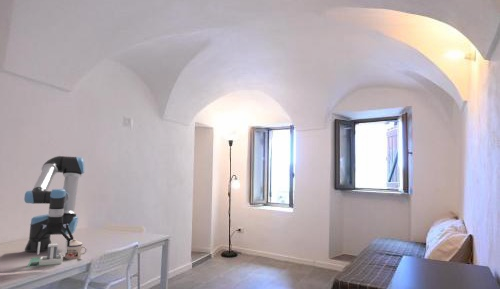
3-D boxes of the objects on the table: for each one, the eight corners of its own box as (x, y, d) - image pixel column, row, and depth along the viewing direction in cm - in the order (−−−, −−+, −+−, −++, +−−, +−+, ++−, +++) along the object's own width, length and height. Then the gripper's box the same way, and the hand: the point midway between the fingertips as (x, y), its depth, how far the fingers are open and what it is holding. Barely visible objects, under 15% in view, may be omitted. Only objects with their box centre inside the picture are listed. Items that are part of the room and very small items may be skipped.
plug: (47, 261, 182) (48, 243, 183) (56, 260, 184) (57, 243, 185) (46, 263, 178) (48, 245, 179) (55, 263, 180) (57, 245, 181)
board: (31, 260, 187) (32, 254, 187) (62, 258, 194) (63, 252, 194) (26, 269, 171) (26, 263, 171) (60, 266, 178) (60, 260, 178)
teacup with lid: (62, 260, 188) (64, 241, 189) (66, 256, 197) (68, 237, 198) (84, 260, 191) (85, 241, 192) (87, 256, 200) (89, 237, 201)
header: (40, 261, 182) (41, 256, 182) (62, 259, 187) (63, 255, 187) (38, 265, 175) (39, 260, 175) (61, 263, 180) (62, 258, 180)
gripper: (28, 217, 174) (24, 256, 172) (79, 216, 185) (76, 253, 184) (31, 215, 181) (27, 253, 179) (80, 214, 192) (76, 250, 190)
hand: (52, 253), depth 181 cm, fingers open, 13 cm apart
